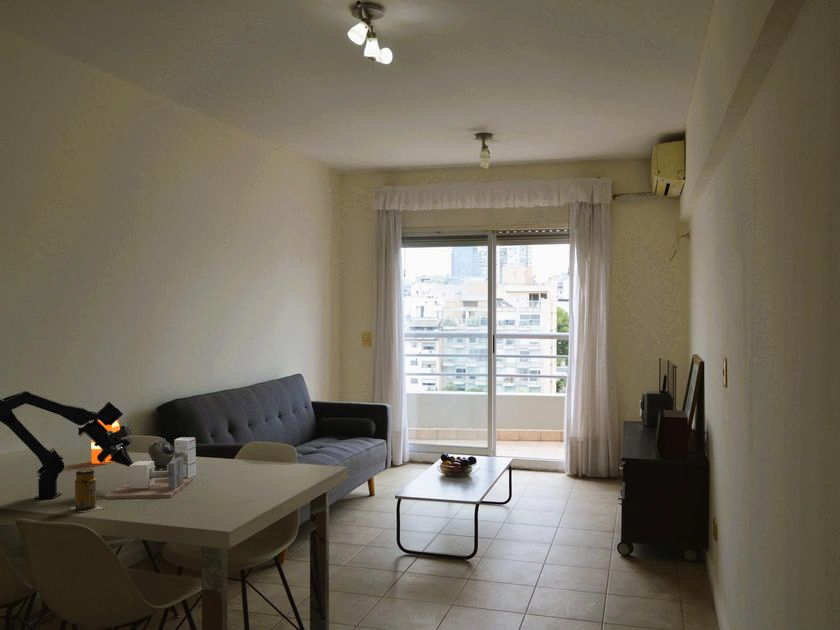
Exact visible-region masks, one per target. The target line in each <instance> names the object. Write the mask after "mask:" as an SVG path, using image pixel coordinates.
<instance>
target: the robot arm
mask: <svg viewBox="0 0 840 630" xmlns="http://www.w3.org/2000/svg"><path fill="white" fill-rule="evenodd" d="M23 405H29V406H33V407H35V408H38V409H41V410H44V411H47V412H50V413H52V414H55V415H59V416H61V417H62V418H64V419H66V420H68V421H69V422H72V423H73V424H75V425H78V426H82V427H78V428H77V429H78V434H77V435H78V436H79V437H82V436H83V435H84V434H85V435H86V437H88V438H90V439H92V440H93V441H94V442H95V444H94V445H95V446H99V447H100V448H101V449H102V451H101V452H100V453H99V454H98V455H97V460H98V461H99V462H100V463H99V464H104V463H103V462H104V461H105V459H106V458H107V457H108V456H109V455H111V456H110V457H112V458H111V459H110V460H109V461H112V462H114V463H117V464H119V465H122V466H124V467H125V466H126V467H129V468H130V465H131V464H133V463H134V462H133V460H132V458H131V457H130V455H129V452H128V447H129V446H130V445H131V444H132V443H133V442H134V440H133V439H131V438H130V437H129V436H130V435H132V434H133V433H132V427H130V426H129V425H127V424H123V425H120V430H118V431H116V432H113V431H108V430H107V429H106V428H105V427H104V426H103V425H101V424H100V423H99V422H98V420H100V421H101V422H102V423H103V424H104V425H105V426H107V425H110V426H111V425H112V424H113V423H114V422H116V421H117V420H118V421H119V419H120V418H121V417H122V416H123V415H124V414H123V412H121V411H120V409H119V408H117V407H116V406H115V405H113V404H112V403H111V402H110V401H107V402H106V403H105V404H104V406H103V407H101V409H99V410H98V411H97V412H96V411H89V410H88V409H85V408H84V407H82V406H81V407H80V406H75V405H69V404H63V403H60V402H58V401H54V400H51V399H48V398H46V397H43V396H40V395H37V394H35V393H32V392H30V391H28V390H22V391H21V392H18V393H16V394H13V395H10V396H6V397H4V398H0V422H1V423H2V424H4V425H5V426H6V427H8V429H10V431H12V432H13V433H14V434H15V435H16V436H17V437H18V439H20V441H21V442H22V443H24V445H25V446H26V447H27V448H28V449H29V450H31V452H32V453H33V454H34V455H35V456H36V457H37V460H38V461H39V462H40V464H41V466H40V468H39V469H37V471H36V475H37V476H38V479H37V482H38V483H37V484H38V485H37V486H38V487H37V489H38V490H37V491H38V495H36V496H35V497H33V499H34V500H47V499H48V500H50V499H51V500H52V499H55V498H57V497H59V496H61V495H62V492H58V477H59V474H61V473H62V472H63V471H64V469H65V463H64V461H63V460H64V458H63V457H62V455H61V454H58V452H57V451H56V450H55V448H54V447H52V448H51V449H50V450H49V449H48V448H47V447H46V446H44V445H43V444H42V443H41V442H40V441H39V440H38V439H37V437H35V436H34V435H33V434H32V432H30V431H29V430H28V428H27V427H26V426H25V425H24V423H22V422H21V421H20V420H19V419H18V418H17V416H16V414H15V413H14V411H13V410H14V409H17V408H19V407H21V406H23ZM93 420H94V421H93Z"/></svg>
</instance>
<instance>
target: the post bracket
mask: <svg viewBox="0 0 840 630" xmlns="http://www.w3.org/2000/svg"><path fill="white" fill-rule="evenodd" d="M167 466H168V469H167V470H158V471H157V470H154V471H151V472H150V478H154V481H155V484H153V485H152V486H150V487H149V488H136V489H130V480H129V481H128V482H126V483H124V484H122V485H121V486H119V487H117V488H116V489H114V490H113V491H111V492H109V493H107V494H106V495H105V496H104V499H106V500H110V499H111V500H113V499H114V500H115V499H116V498H125V499H165V498H167V499H169V498H170V499H171V498H174V496H175V495H177V494H178V493H180V492H181V491H182V490H184V489H185V488H186V487H187V486H189V485H190V484H191V483H192V482H193V481H194V478H193V477H191V478H183V458H176V459H175V458H174V459H172V461H171V462H170V463H168V465H167ZM116 500H117V499H116Z"/></svg>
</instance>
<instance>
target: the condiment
mask: <svg viewBox="0 0 840 630" xmlns="http://www.w3.org/2000/svg"><path fill="white" fill-rule="evenodd" d="M75 476H76V477H75V480H74V504H75V505H74V507H73V506H72V507H69V509H70V510H73V511H75V512H79V513H85V512H93V511H97V510H102V509H104V507H102V506H100V505H97V489H96V488H97V487H96V486H97V483H96V481H97V479H96V478H95V470H94V469H90V468H87V469H85V468H84V469H78V470H77V471H76V473H75ZM96 506H97V507H96Z"/></svg>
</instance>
